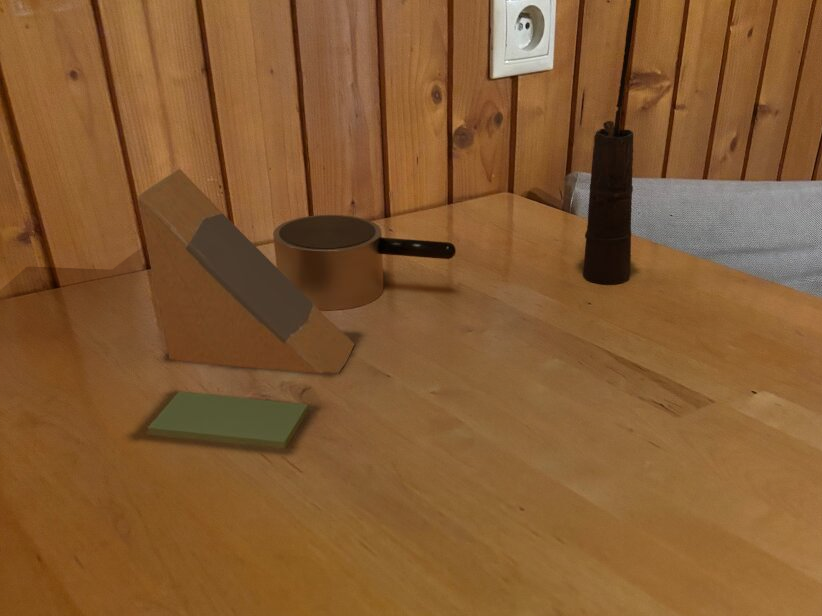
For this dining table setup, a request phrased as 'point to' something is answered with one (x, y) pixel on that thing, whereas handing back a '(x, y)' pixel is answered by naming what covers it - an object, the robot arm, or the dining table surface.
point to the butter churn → (611, 194)
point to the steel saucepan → (342, 258)
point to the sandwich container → (228, 290)
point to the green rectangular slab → (229, 419)
